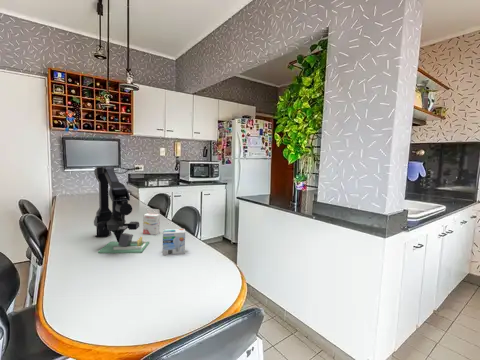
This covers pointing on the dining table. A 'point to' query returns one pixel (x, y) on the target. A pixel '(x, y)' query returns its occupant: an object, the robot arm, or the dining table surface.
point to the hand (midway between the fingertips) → (118, 242)
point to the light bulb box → (173, 241)
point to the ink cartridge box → (151, 222)
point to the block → (125, 239)
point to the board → (133, 248)
